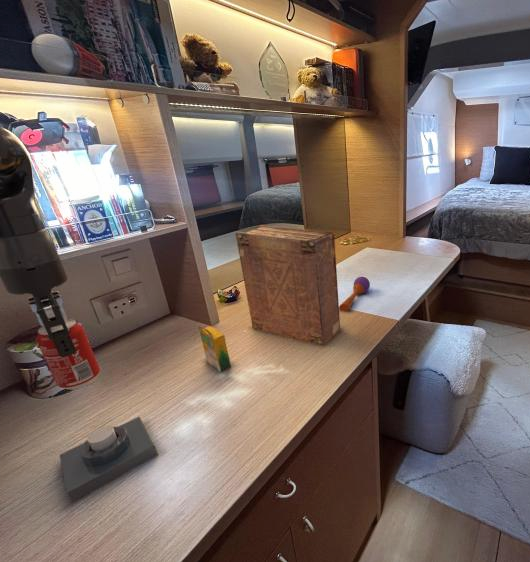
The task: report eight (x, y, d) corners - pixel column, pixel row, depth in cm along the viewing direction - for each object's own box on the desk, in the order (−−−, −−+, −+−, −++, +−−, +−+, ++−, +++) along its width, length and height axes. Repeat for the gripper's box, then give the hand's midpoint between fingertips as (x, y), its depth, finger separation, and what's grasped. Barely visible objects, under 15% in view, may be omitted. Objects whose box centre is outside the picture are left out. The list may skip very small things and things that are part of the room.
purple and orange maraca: (333, 300, 110) (355, 274, 127) (338, 316, 112) (359, 288, 129) (349, 300, 108) (369, 273, 125) (354, 315, 110) (373, 287, 127)
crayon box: (232, 368, 85) (223, 328, 80) (220, 374, 83) (210, 333, 78) (218, 357, 89) (208, 318, 85) (206, 363, 87) (196, 323, 82)
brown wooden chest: (252, 329, 102) (234, 232, 90) (272, 316, 110) (258, 224, 98) (324, 347, 92) (314, 241, 81) (340, 331, 100) (334, 232, 88)
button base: (74, 505, 53) (62, 483, 51) (65, 467, 60) (54, 446, 58) (159, 457, 61) (151, 436, 59) (143, 427, 68) (136, 408, 66)
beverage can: (98, 366, 68) (77, 313, 64) (104, 380, 64) (82, 325, 59) (57, 381, 64) (31, 326, 60) (60, 397, 60) (33, 339, 55)
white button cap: (93, 455, 56) (89, 446, 55) (89, 443, 59) (85, 434, 58) (119, 442, 59) (115, 433, 58) (114, 431, 61) (111, 422, 60)
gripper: (-6, 256, 57) (35, 341, 63) (-6, 277, 48) (41, 374, 54) (53, 246, 62) (85, 325, 68) (63, 263, 53) (99, 353, 59)
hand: (65, 346), depth 61 cm, fingers closed on beverage can, 6 cm apart
